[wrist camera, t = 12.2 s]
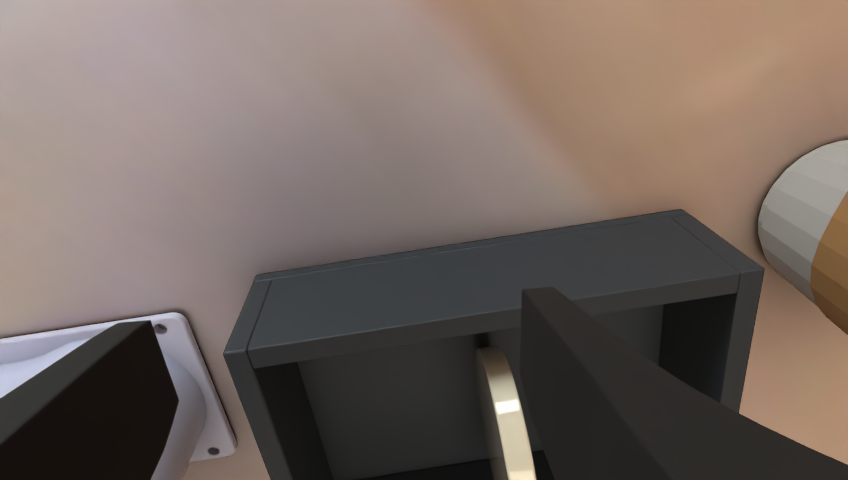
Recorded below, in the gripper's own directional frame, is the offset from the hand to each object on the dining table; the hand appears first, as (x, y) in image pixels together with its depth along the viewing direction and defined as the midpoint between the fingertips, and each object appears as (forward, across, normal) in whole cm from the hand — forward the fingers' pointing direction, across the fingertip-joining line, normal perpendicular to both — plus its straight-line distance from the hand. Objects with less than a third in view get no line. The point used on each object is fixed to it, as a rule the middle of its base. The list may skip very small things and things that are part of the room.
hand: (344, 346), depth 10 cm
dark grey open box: (+10, -4, +10) cm, 15 cm away
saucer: (+10, -4, +10) cm, 14 cm away
